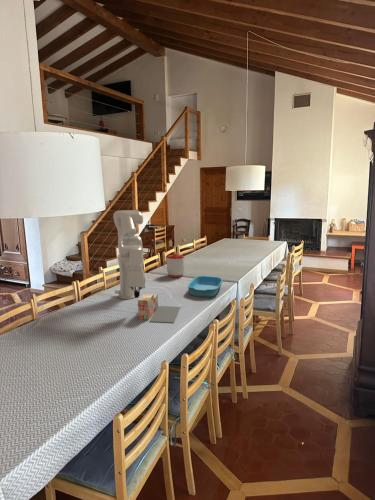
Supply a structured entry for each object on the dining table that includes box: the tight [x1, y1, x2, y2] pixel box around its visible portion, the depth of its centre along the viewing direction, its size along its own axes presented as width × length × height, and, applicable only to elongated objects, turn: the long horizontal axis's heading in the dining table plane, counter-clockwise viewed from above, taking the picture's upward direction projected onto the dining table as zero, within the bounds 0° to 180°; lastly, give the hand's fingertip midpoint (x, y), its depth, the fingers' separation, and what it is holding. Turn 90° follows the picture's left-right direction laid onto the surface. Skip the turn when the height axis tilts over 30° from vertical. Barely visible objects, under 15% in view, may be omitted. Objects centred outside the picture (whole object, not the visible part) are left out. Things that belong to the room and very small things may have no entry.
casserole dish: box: [187, 275, 223, 298], centre depth 266 cm, size 37×22×7 cm, turn 165°
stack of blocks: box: [137, 293, 159, 321], centre depth 220 cm, size 21×6×12 cm, turn 170°
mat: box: [149, 305, 181, 324], centre depth 219 cm, size 14×26×1 cm, turn 173°
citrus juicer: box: [164, 252, 186, 278], centre depth 306 cm, size 16×17×20 cm
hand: (136, 297), depth 219 cm, fingers closed
